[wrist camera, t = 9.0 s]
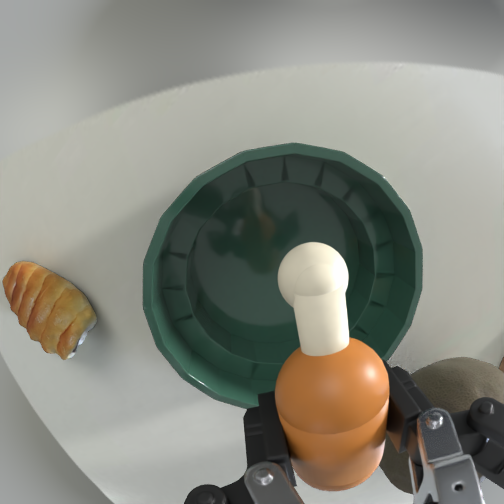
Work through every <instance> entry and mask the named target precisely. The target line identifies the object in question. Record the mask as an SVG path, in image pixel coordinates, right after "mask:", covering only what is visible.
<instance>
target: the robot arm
mask: <svg viewBox="0 0 504 504" xmlns="http://www.w3.org/2000/svg"><path fill="white" fill-rule="evenodd" d="M382 362H383V364H384V366H385V368H386V371H387V373H388V379H389V405H388V417H387V427H386V432H387V433H388V435H389V437H390V439H391V441H392V442H393V444H394V446H395V448H396V450H397V451H398V453H399V454H400V453H402V452H404V451H407V452H408V454H409V460H408V461H409V468H410V474H411V481H412V488H413V495H414V501H413V504H485V501H484V497H483V493H482V490H481V486H480V482H479V479H478V475H477V472H479V473H480V474H482V475H483V476H485V477H486V478H488V479H489V480H491V481H492V482H494V483H495V484H497V485H499V486H500V487H502V488H503V489H504V404H503V403H501V402H499V401H497V400H495V399H493V398H490V397H482V398H479V399H477V400H475V401H474V402H473V403H472V404H471V406H470V409H469V410H464V411H460V412H455V413H448V412H447V411H446V410H444V409H441V408H435V407H434V406H433V404H432V403H431V402H430V400H429V399H428V398H427V397H426V395H425V394H424V393H423V391H422V390H421V389H420V388H419V386H417V384H416V383H415V381H414V380H412V377H411V376H410V375H409V374H408V372H407V371H405V370H403V369H401V368H400V367H398V366H396V367H394V368H390V366H389V365H388V364H387V362H386V361H385V360H383V359H382ZM258 403H259V406H257V407H252V408H248V409H247V411H246V413H245V415H244V418H243V420H244V432H245V443H246V455H247V470H246V472H245V474H244V475H243V476H242V477H241V478H240V479H239V480H237V481H236V482H234V483H232V484H229V485H227V486H224V487H222V488H219V487H218V486H215V485H209V484H207V485H201V486H198V487H196V488H194V489H193V490H192V491H191V492H190V493H189V494H188V496H187V498H186V500H185V502H184V504H304V502H303V501H302V499H301V498H300V496H299V495H298V493H297V491H296V490H295V488H294V486H297V485H296V480H295V476H294V472H293V467H292V463H291V458H290V454H289V450H288V447H287V443H286V439H285V435H284V431H283V428H282V424H281V421H280V418H279V415H278V411H277V407H276V401H275V391H270V392H266V393H261V394H258ZM476 471H477V472H476Z"/></svg>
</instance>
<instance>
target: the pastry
mask: <svg viewBox="0 0 504 504" xmlns="http://www.w3.org/2000/svg"><path fill="white" fill-rule="evenodd" d="M3 286H4V289H5V294H6V297H7V299H8V301H9V303H10V306H11V307H10V308H11V310H12V311H13V312H14V313H15V314H16V315H17V316H18V320H19V324H20V325H21V326H23V327H25V328H26V329H27V332H28V334H29V335H30V338H31V339H32V340H34V341H39V342H40V343H41V345H42V348H43V350H44V351H45V352H46V353H50V354H54V353H56V354H58V355H59V356H60V357H61V358H62V359H63V360H66V359H70V358H71V357H73V356H74V355H75V353H76V351H77V347H78V345H81V344H82V343H83V341H84V340H85V337H86V335H87V331H88V330H91V329H92V328H94V325H95V324H96V315H95V313H94V311H93V308H92V307H91V305H90V303H89V302H88V299H87V298H86V296H85V295H84V293H83V292H81V291H80V290H78V289H77V288H76V287H75V286H74V285H73V284H72V283H71V282H69V281H67V280H65V279H64V278H62V277H60V276H59V275H57V274H55V273H53V272H51V271H49V270H48V269H46V268H44V267H42V266H40V265H37V264H35V263H33V262H26V261H21V262H16V263H15V264H14V265H13V266H11V267H10V269H9V271H8V273H7V275H6V276H5V277H4V279H3Z"/></svg>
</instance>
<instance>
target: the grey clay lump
mask: <svg viewBox="0 0 504 504" xmlns="http://www.w3.org/2000/svg"><path fill="white" fill-rule="evenodd" d="M410 376H411V377H412V380H414V381H415V383H416V384H417V386H419V388H420V389H421V390H422V391H423V393H424V394H425V395H426V397H427V398H428V399H429V400H430V402H431V403H432V404H433V406H434V407H435V408H441V409H444V410H446V411H447V412H448V413H455V412H460V411H464V410H469V409H470V406H471V404H472V403H473V402H474V401H475V400H477V399H479V398H482V397H490V398H493V399H495V400H497V401H499V402H501V403H503V404H504V373H503V372H502V371H501V370H500V369H498V368H497V367H496V366H494V365H492V364H489V363H486V362H483V361H479V360H476V359H472V358H467V357H456V358H450V359H446V360H442V361H439V362H436V363H433V364H431V365H429V366H426V367H424V368H422V369H420V370H418V371H416V372H414V373H412V374H411V375H410ZM408 460H409V454H408V452H407V451H404V452H402V453H400V454H399V453H398V451H397V450H396V448H395V446H394V444H393V442H392V441H391V439H390V437H389V435H388V433H387V432H386V437H385V445H384V452H383V456H382V459H381V461H380V463H379V466H380V467H381V469H382V470H383V471H384V473H385V475H386V476H387V478H388V479H389V480H390V482H391V483H392V484H393V485H394V486H396V487H397V488H398V489H400V490H402V491H404V492H406V493H410V494H413V488H412V481H411V474H410V468H409V461H408ZM476 472H477V471H476ZM477 475H478V479H479V482H480V483H481V482H482V481H483V480H484V479H485V478H486V477H485V476H483V475H482V474H480V473H479V472H477Z"/></svg>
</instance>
